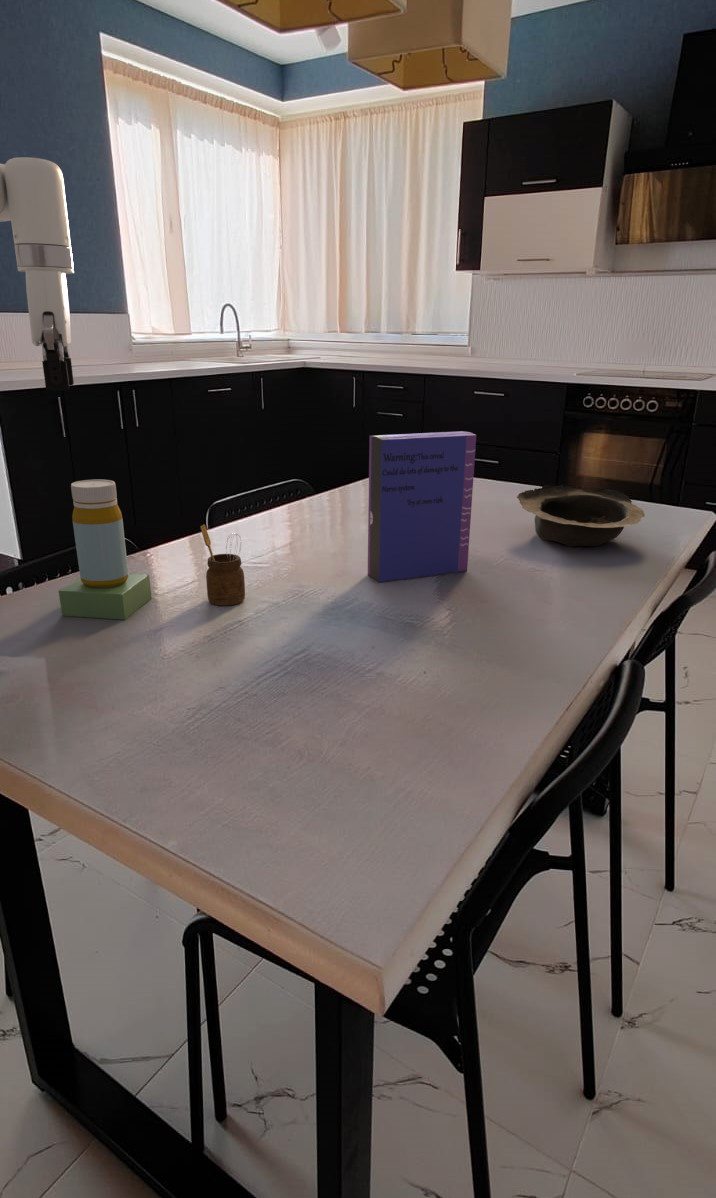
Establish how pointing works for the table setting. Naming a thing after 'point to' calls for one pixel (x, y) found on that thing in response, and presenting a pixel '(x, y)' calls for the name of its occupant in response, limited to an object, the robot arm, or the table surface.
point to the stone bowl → (579, 514)
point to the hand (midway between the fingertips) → (60, 387)
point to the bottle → (99, 534)
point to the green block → (105, 598)
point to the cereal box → (419, 504)
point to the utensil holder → (224, 576)
